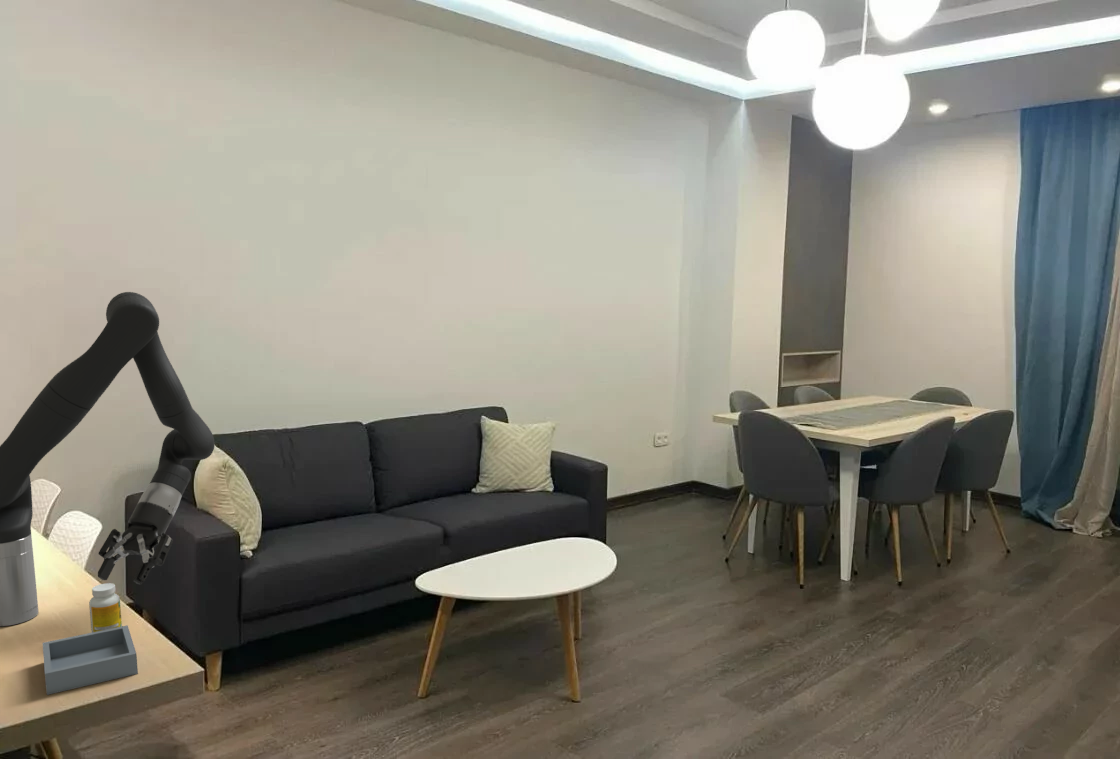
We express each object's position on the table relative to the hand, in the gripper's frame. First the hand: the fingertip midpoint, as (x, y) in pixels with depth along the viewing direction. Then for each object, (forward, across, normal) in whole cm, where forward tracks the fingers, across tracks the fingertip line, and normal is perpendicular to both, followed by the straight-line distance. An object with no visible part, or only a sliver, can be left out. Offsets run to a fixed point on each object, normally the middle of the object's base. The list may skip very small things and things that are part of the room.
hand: (119, 580), depth 172 cm
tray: (+18, +8, -5) cm, 21 cm away
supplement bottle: (+10, 0, +4) cm, 10 cm away
